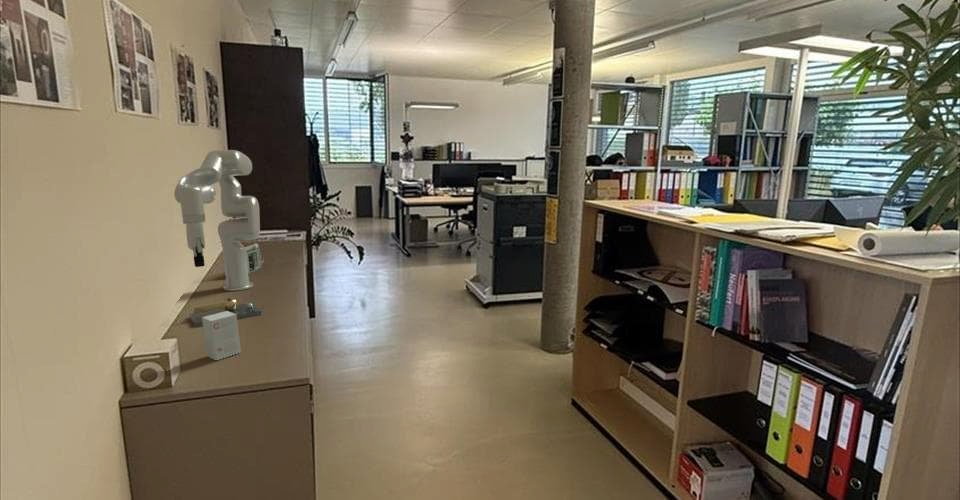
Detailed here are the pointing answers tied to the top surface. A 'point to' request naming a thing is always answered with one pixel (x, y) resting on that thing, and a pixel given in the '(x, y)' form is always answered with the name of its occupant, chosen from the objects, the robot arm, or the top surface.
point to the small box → (221, 335)
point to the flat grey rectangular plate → (240, 312)
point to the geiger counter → (253, 257)
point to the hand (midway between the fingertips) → (199, 266)
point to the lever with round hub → (217, 306)
